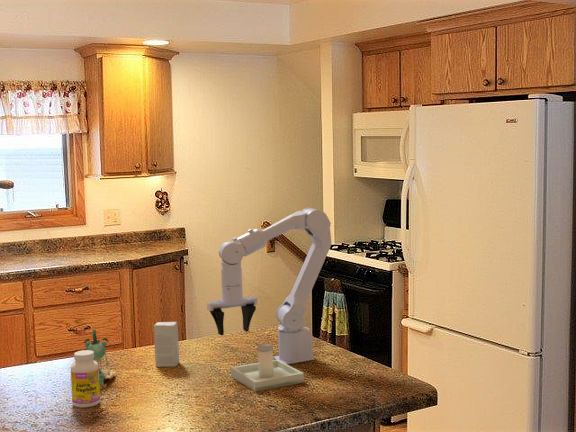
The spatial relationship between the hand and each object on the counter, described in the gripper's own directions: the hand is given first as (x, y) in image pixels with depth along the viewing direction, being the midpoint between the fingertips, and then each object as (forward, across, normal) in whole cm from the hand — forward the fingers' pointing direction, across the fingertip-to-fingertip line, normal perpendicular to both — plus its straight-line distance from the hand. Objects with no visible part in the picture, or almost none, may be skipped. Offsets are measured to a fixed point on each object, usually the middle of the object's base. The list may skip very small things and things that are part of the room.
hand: (233, 332), depth 221 cm
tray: (+9, -2, +16) cm, 19 cm away
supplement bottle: (+10, +44, +10) cm, 46 cm away
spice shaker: (+8, -2, +16) cm, 18 cm away
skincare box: (+10, +16, -11) cm, 22 cm away
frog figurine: (+10, +37, -8) cm, 39 cm away
